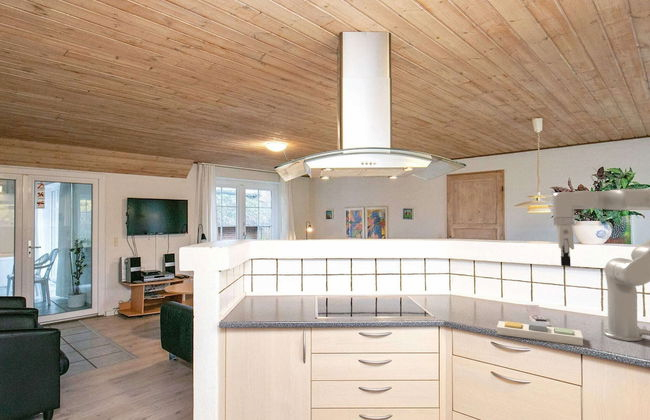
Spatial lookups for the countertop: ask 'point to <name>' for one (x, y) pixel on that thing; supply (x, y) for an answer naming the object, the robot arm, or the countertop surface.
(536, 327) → the key slate
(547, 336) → the keypad
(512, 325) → the key ochre
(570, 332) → the key sage
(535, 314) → the mobile phone
